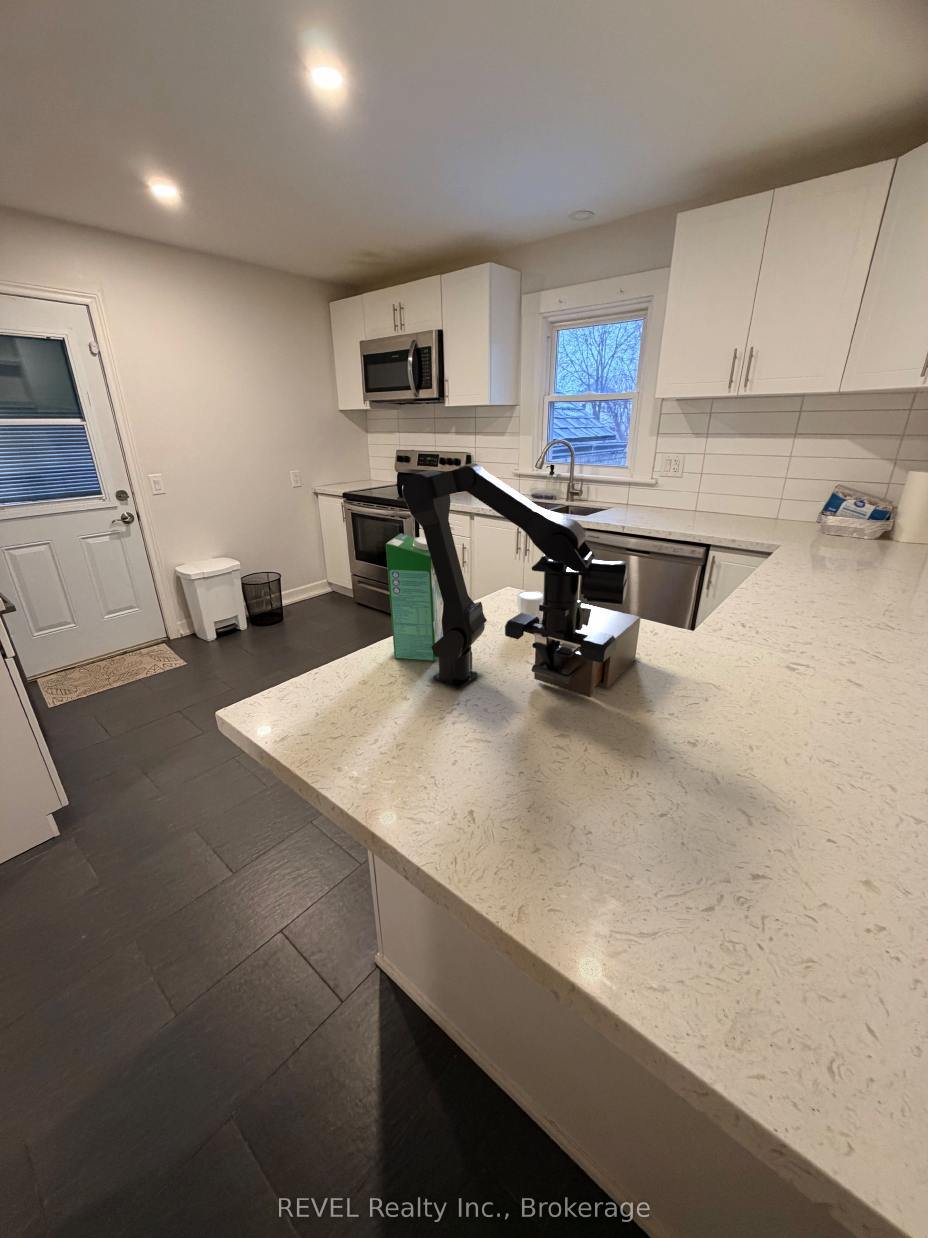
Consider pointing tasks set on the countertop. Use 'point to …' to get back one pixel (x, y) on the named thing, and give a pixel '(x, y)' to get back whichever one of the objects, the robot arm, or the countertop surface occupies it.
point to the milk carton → (413, 598)
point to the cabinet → (623, 632)
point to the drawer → (571, 674)
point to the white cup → (530, 603)
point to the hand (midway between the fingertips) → (555, 679)
